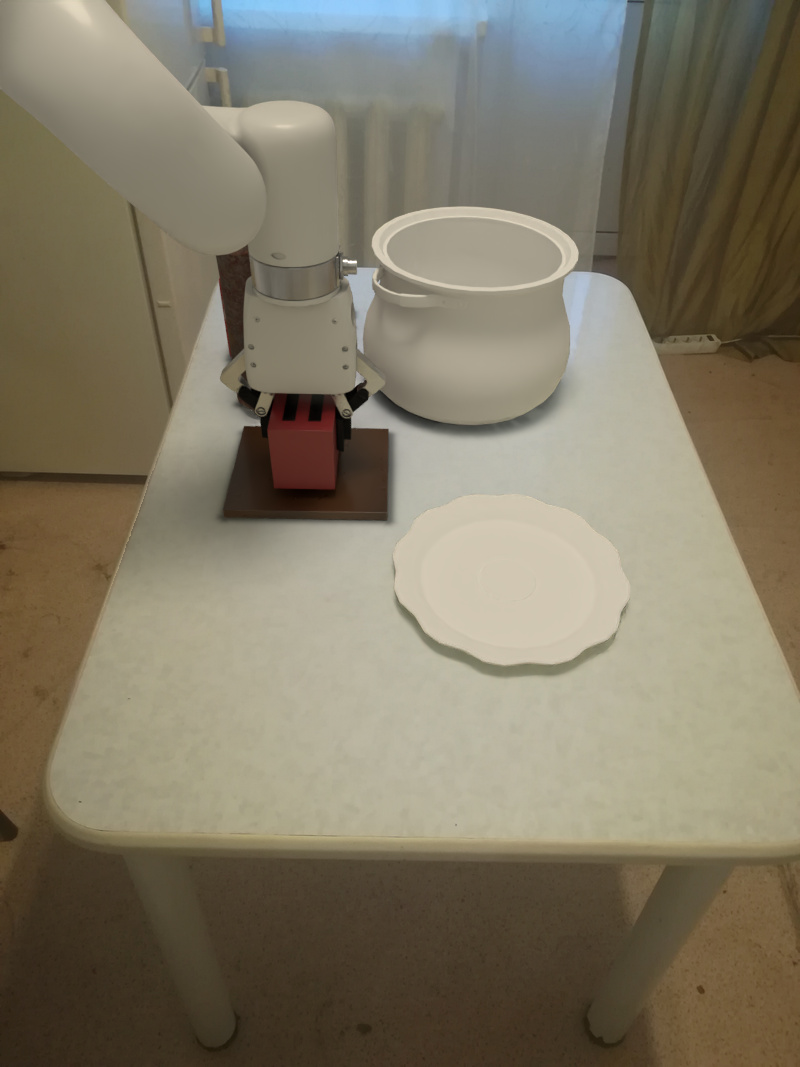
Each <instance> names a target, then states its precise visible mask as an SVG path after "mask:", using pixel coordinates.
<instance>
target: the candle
mask: <svg viewBox="0 0 800 1067" xmlns="http://www.w3.org/2000/svg"><path fill="white" fill-rule="evenodd" d="M215 259H216V264H217V270H218V277H219V278H220V286H221V292H222V298H223V304H224V311H225V318H226V325H227V331H228V338H229V345H230V352H231V356H230V360H231V361H232V360H233V359H234V358H235V357H236V356H237V355H238V354H239V353H240V352H241V351H242V350H243V349H244V325H243V313H244V296H245V286H246V281H247V279H248V278H249V277H251V268H250V260H249V250H248V244H247V245H246V246H245V247H243V248H241V249H240V250H238V251H235V252H232V253H229V254H225V255H215ZM241 375H242V376H243V377H244V379H245V380H247V376H246V370H245V371H244V372H243V373H242V374H241ZM274 397H275V394H274ZM274 397H273V400H274ZM236 398H237V400H238V403H239V404H241V405H242V406H243V407H245V408H247V409H248V410H250V411H252V412H254V413H255V409H254V408H252V407H251V406H250V405H249V404H247V403H246V402H245V401H243V400H242V399H241V398H240V397H239V396H238V393H236Z"/></svg>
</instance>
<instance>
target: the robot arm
mask: <svg viewBox="0 0 800 1067" xmlns="http://www.w3.org/2000/svg"><path fill="white" fill-rule="evenodd" d="M0 91H1V92H3V93H4V94H5V95H6V96H7V97H9V98H10V99H11V100H12V101H14V103H16V104H17V105H19V106H20V107H21V108H23V109H24V110H25V111H26V112H27V113H28V114H30V115H31V116H32V117H33V118H34V119H36V120H37V121H38V122H39V123H40V124H41V125H42V126H44V127H45V128H46V130H48V131H49V132H50V133H51V134H52V135H53V136H54V137H56V138H57V139H58V140H59V141H60V142H61V143H62V144H63V145H64V146H65V147H66V148H68V149H69V150H70V151H71V152H72V153H73V154H74V155H75V156H77V157H78V159H80V160H81V161H82V162H83V163H84V164H85V165H86V166H87V167H88V168H90V170H92V171H93V172H94V173H95V174H96V175H97V176H98V177H99V178H101V179H102V180H103V181H104V182H105V183H106V184H107V185H109V186H110V187H111V188H112V189H113V190H114V191H115V192H117V193H118V194H119V195H120V196H122V198H124V199H125V200H126V201H127V202H128V203H130V204H131V205H132V206H133V207H134V208H136V209H137V210H138V211H139V212H140V213H141V214H143V215H144V216H145V217H146V218H148V219H149V220H150V221H151V222H152V223H153V224H154V225H155V226H157V227H158V228H159V229H160V230H162V232H164V233H165V234H166V235H167V236H169V237H170V238H171V239H172V240H174V241H175V242H177V243H178V244H179V245H181V246H183V247H184V248H186V249H188V250H190V251H193V252H195V253H198V254H202V255H206V256H216V255H225V254H229V253H232V252H235V251H238V250H240V249H241V248H243V247H245V246H246V245H247V244H248V250H249V260H250V268H251V277H249V278H248V279H247V281H246V286H245V296H244V313H243V325H244V349H243V350H242V351H241V352H240V353H239V354H238V355H237V356H236V357H235V358H234V359H233V360H232V359H231V361H230V362H229V363H227V364H226V366H225V367H224V368H222V371H221V373H220V376H219V381H220V382H221V383H222V384H223V385H224V386H226V387H227V388H228V389H230V390H231V391H232V392H233V393H236V394H237V393H238V396H239V397H240V398H241V399H242V400H243V401H245V402H246V403H247V404H249V405H250V406H251V407H252V408H254V409H255V412H254V414H255V415H256V416H258V417H259V424H260V426H261V431H262V437H263V438H268V432H267V429H268V425H269V420H270V415H271V411H272V406H273V401H274V400H273V397H274V394H275V393H289V394H330V395H331V397H332V399H333V401H334V403H335V405H336V407H337V411H336V444H337V450H339V452H344V443H345V440H351V430H352V429H351V428H352V417H353V415H354V412H356V411H357V410H358V409H360V407H361V406H363V405H364V404H365V403H367V402H368V401H369V399H370V397H371V396H373V395H375V394H376V393H377V392H378V391H381V390H380V389H381V388H382V387H383V386H384V385H385V374H384V373H383V372H382V371H381V370H380V369H379V368H378V367H377V366H376V365H375V364H374V363H373V362H371V361H370V360H369V359H368V358H367V357H366V356H365V355H364V352H362V351H361V350H360V349H359V348H358V334H357V333H358V332H357V331H358V330H357V320H356V311H355V304H354V296H353V297H352V295H353V291H352V288H351V284H350V281H349V279H348V278H346V277H349V275H358V257H349V255H344V251H343V252H341V244H340V221H339V219H340V218H339V184H338V183H339V182H338V145H337V143H338V142H337V130H336V126H335V123H334V120H333V118H332V116H331V115H330V113H329V112H327V111H326V110H325V109H324V108H322V107H321V106H318V105H316V104H313V103H310V102H305V101H300V100H287V99H285V100H269V101H263V102H259V103H256V104H252V105H250V106H247V107H235V106H233V107H231V106H213V105H202V104H201V103H200V102H199V101H198V100H197V99H196V98H195V97H194V96H193V95H192V94H191V93H190V92H189V91H188V89H187V88H186V87H185V86H184V85H183V84H182V82H180V81H179V80H178V79H177V78H176V77H175V75H174V74H172V72H171V71H170V70H169V69H168V68H167V67H166V66H165V65H164V64H163V62H161V61H160V60H159V59H158V58H157V57H156V55H155V54H154V53H153V52H152V50H150V49H149V48H148V47H147V46H146V44H144V42H143V41H142V40H141V39H140V38H139V37H138V36H137V35H136V34H135V32H133V30H132V29H131V28H130V27H129V26H128V25H127V23H125V21H124V20H123V19H122V18H121V17H120V15H119V14H118V13H117V12H116V11H115V10H114V8H112V7H111V5H110V4H109V3H108V2H107V0H0ZM351 291H352V292H351ZM245 370H246V376H247V380H245V379H244V377H243V376H242V375H241V374H242V373H243V372H244V371H245ZM357 373H358V374H359V375H360V376H361V377H362V378H364V380H363V381H362V382H359V383H358V384H357V385H356V380H357ZM268 444H269V440H268ZM269 450H270V449H269Z"/></svg>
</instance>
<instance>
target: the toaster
mask: <svg viewBox="0 0 800 1067" xmlns="http://www.w3.org/2000/svg"><path fill="white" fill-rule="evenodd" d="M336 411H337V407H336V405H335V403H334V401H333V399H332V397H331V395H330V394H289V393H275V397H274V401H273V406H272V411H271V415H270V420H269V425H268V429H267V432H268V440H269V449H270V458H271V466H272V475H273V484H274V488H281V489H333V490H335V487H336V476H337V465H338V455H339V450H337V444H336Z"/></svg>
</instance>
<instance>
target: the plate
mask: <svg viewBox="0 0 800 1067" xmlns="http://www.w3.org/2000/svg"><path fill="white" fill-rule="evenodd" d="M391 555H392V556H391V558H392V561H393V566H394V570H395V575H394V583H393V590H394V592H395V596H396V598H397V600H398V602H399V604H400V605H401V606H402V607H404V609H406V611H408V612H409V613H410V614H411V615H412V616H414V619H415V620H416V622H417V623H418V624H419V626H420V628H421V629H422V631H423V633H424V634H425V635H427V636H428V637H430V638H431V639H433V640H434V641H436V642H437V643H438V644H439V645H442V646H446V647H449V648H452V649H456V650H458V651H461V652H464V653H466V654H468V655H470V656H471V657H473V658H475V659H477V660H478V661H480V662H482V663H484V664H490V665H496V666H500V667H510V666H511V667H512V666H519V665H528V664H530V665H541V666H557V665H561V664H564V663H568V662H572V661H573V660H575V659H576V658H577V657H578V656H580V655H581V654H582V653H583V652H585V651H586V650H587V649H590V648H593V647H595V646H598V645H599V644H600V645H601V644H603V643H605V642H608V640H610V638H611V637H612V636H613V635H615V633H616V632H617V631H618V629H619V625H620V620H621V614H622V611H623V610H624V608H625V607H626V605H627V604H628V602H629V601H630V599H631V583H630V581H629V579H628V578H627V575H626V573H625V572H624V570H623V568H622V563H621V557H620V552H619V551H618V550H617V548H616V547H615V545H614V544H613V543H612V542H611V540H610V539H608V538H607V537H605V536H604V535H602V534H601V533H600V532H598V531H596V530H595V529H594V528H593V527H592V526H591V525H590V524H589V523H588V521H586V520H585V518H584V517H583V516H581V515H579V514H577V513H575V512H574V511H572V510H570V509H568V508H566V507H562V506H557V505H553V504H549V503H547V502H544V501H542V500H539V499H537V498H535V497H533V496H530V495H525V494H517V493H505V494H495V495H493V494H482V493H481V494H480V493H473V494H472V493H471V494H467V495H462V496H458V497H456V498H455V499H453V500H450V501H449V502H447V503H445V504H442V505H440V506H437V507H433V508H429V509H426V510H424V511H423V512H422V513H421V514H419V515H418V516H416V517H415V518H414V520H413V522H412V524H411V526H410V528H409V529H408V531H407V532H406V533H405V534H404V535H403V536H402V537H401V538H400V539H399V540H398V541H397V542H396V543H395V545H394V549H393V552H392V554H391Z"/></svg>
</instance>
